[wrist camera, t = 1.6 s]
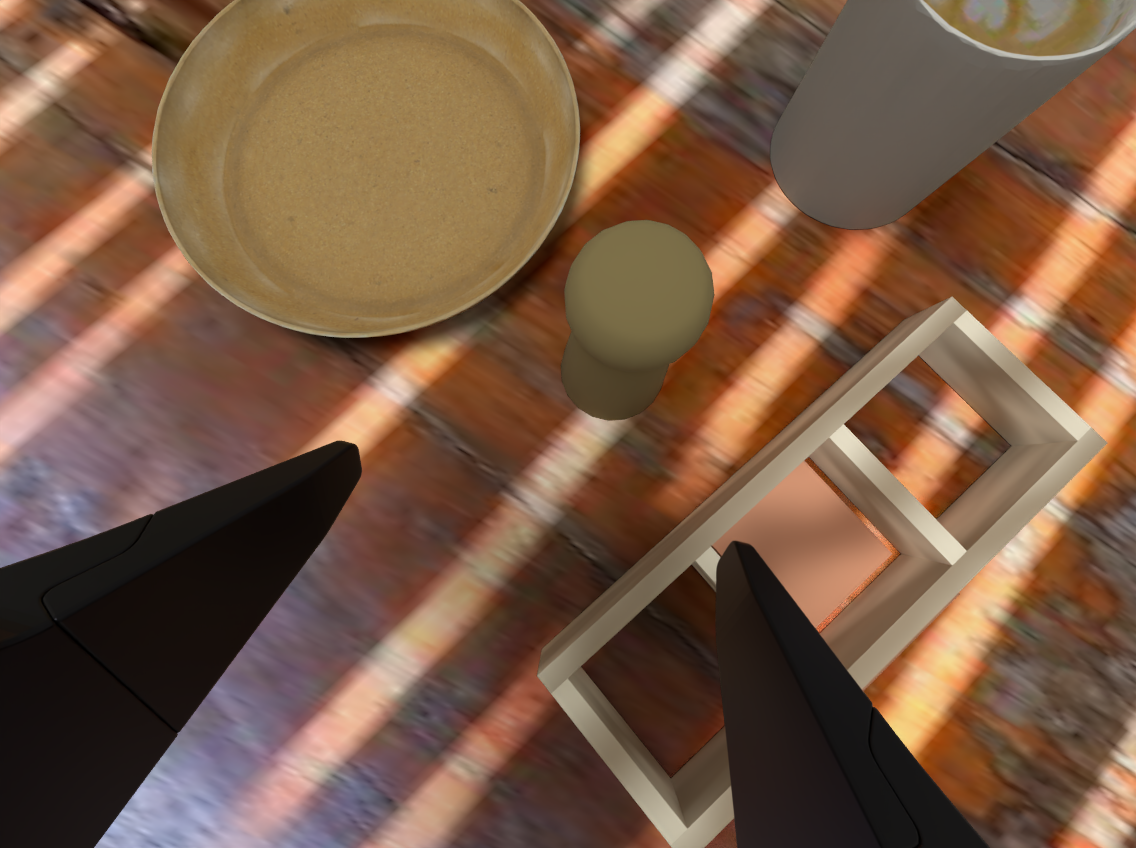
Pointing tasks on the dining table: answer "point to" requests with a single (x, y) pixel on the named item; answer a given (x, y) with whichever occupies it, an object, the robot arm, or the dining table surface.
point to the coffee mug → (926, 95)
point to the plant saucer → (365, 157)
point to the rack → (834, 543)
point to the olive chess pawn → (632, 315)
